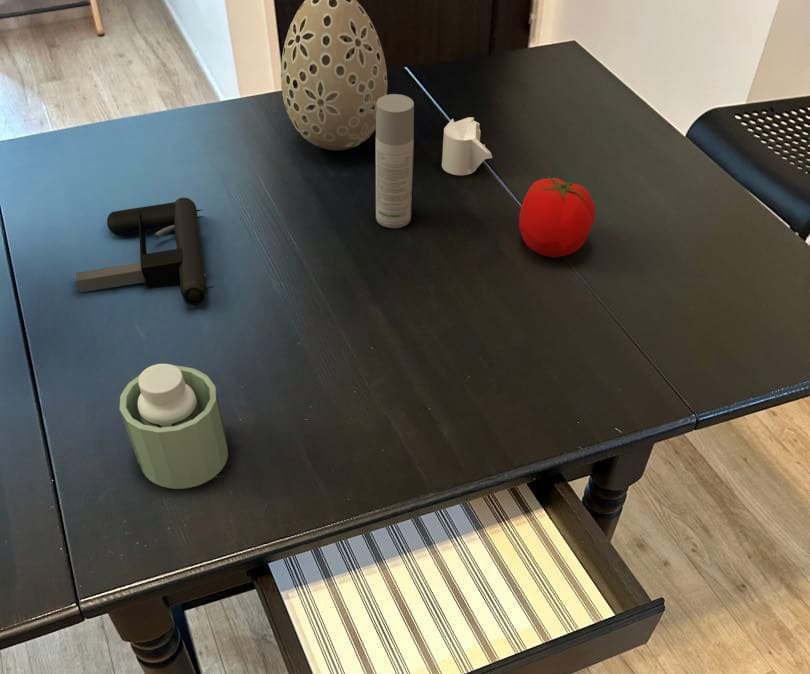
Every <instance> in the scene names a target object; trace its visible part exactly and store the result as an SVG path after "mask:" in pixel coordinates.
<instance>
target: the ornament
mask: <svg viewBox="0 0 810 674" xmlns="http://www.w3.org/2000/svg"><path fill="white" fill-rule="evenodd" d="M289 25H290V26H289V28H288V31H287V34H286V37H285V40H284V45H283V48H282V49H283V50H282V55H281V63H280V64H281V65H280V87H281V88H280V89H281V95H282V101H283V103H284V107H285V110H286V113H287V116H288V118H289V120H290V121H291V123H292V125H293V126H294V128H295V130H296V131H297V132H298V133H299V134H300V136H301V137H302V138H304V139H305V140H306V141H307V142H309V143H310V144H312V145H313V146H316V147H318V148H321V149H324V150H327V151H346V150H350V149H353V148H356V147H357V146H360V145H361V144H362V143H364V142H365V141H366V140H368V139H369V138H370V137H371V136H372V135H373V133H374V132H376V106H377V100H378V99H379V98H380V97H382V96H385V95H388V72H387V63H386V58H385V55H384V51H383V47H382V44H381V41H380V37H379V34H378V32H377V30H376V28H375V26H374V24H373V21H372V20H371V18H370V16H369V15H368V13H367V12H366V10H365V8H364V7H363V6H362V4H361V3H360V2H359V1H358V0H304V2H302V4H301V5H300V6H299V8H298V10H297V11H296V13H295V15H294V17H293V19H292V20H291V22H290V24H289ZM352 27H353V28H354V29H355V32H354V31H353V29H352ZM345 39H346V41H344V40H345ZM369 49H371V50H369ZM353 50H354V51H353ZM352 52H353V53H352ZM347 54H349V58H347ZM377 54H378V55H379V58H378V56H377ZM311 67H312V70H311V71H310V68H311ZM294 81H296V84H297V85H296V88H295V87H294ZM353 82H354V83H353ZM306 91H308V93H307V92H306ZM291 94H292V97H291ZM308 94H309V95H308ZM309 106H313V108H312V109H310V107H309ZM373 107H374V108H373ZM360 110H363V111H361V112H360ZM304 117H305V119H304Z"/></svg>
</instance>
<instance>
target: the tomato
mask: <svg viewBox="0 0 810 674" xmlns="http://www.w3.org/2000/svg"><path fill="white" fill-rule="evenodd" d="M547 177H548V178H541V179H538V180H536V181H534V182H533V183H532V185H530V187H529V188H528V190H527V192H526V193H525V197H524V198H523V201H522V204H521V208H520V211H519V221H518V222H519V224H518V227H519V231H520V234H521V238H522V240H523V241H524V244H525V245H526V246H527V247H528V248H529V249H530V250H532V251H533V252H535V253H537V254H539V255H541V256H543V257H549V258H560V257H565V256H570V255H572V254H573V253H575V252H576V251H578V250H579V249H580V248H581V247H583V246H584V244H585V242H586V241H587V238H588V236H589V234H590V231H591V228H592V227H593V225H594V222H595V218H596V217H595V216H596V215H595V214H596V207H595V204H594V201H593V198H592V196H591V195H590V194H589V192H588V190H587V189H586V188H585V187H584V186H583V185H581V184H578V183H576V182H570V181H567V182H566V181H563V180H562V179H560V178H558V177H551V176H550V175H548V174H547Z"/></svg>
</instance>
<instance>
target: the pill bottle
mask: <svg viewBox="0 0 810 674" xmlns="http://www.w3.org/2000/svg"><path fill="white" fill-rule="evenodd" d="M176 366H177V365H174V364H170V363H156V364H153V365H151V366H148V367H147V368H145V369H144V370H142V372H141V373H140V374H139V375H140V376H139V375H138V376H139V379H138V383H139V387H140V391H141V394H140V396H139V398H138V410H139V413H140V416H141V419H142V422H143V424H144V425H148V426H153V427H159V428H162V427H171V426H178V425H180V424H183V423H185V422H188V421H190V420H193V419H194V418H195V417H197V416H198V415H199V414H200V412H199V408H198V403H197V399H196V396H195V393H194V391H193V390H192V389H191V388H190V387H189V386H188V385H187V384H185V381H184V379H183V375H182V373H181V371H180V370H179V369H178V368H177V367H176Z"/></svg>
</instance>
